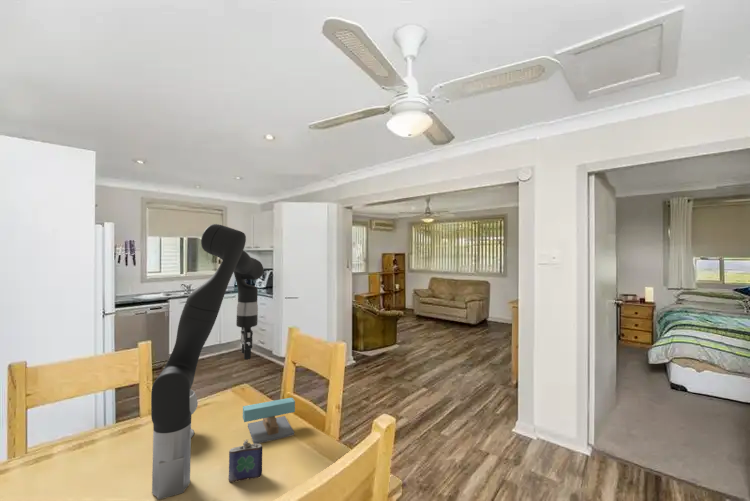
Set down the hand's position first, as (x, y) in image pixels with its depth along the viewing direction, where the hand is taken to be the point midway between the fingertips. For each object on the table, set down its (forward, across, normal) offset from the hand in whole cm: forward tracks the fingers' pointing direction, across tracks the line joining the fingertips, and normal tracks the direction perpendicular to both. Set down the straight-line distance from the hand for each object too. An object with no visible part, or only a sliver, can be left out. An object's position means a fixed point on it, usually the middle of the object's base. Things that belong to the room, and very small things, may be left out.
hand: (246, 355), depth 133 cm
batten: (+20, -8, -8) cm, 23 cm away
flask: (+26, -32, +3) cm, 42 cm away
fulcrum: (+26, -8, -8) cm, 29 cm away
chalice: (+27, +1, +23) cm, 35 cm away
